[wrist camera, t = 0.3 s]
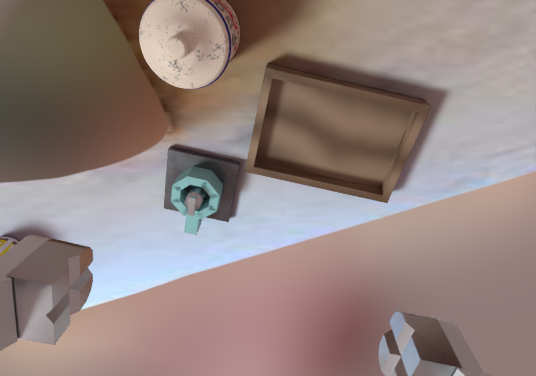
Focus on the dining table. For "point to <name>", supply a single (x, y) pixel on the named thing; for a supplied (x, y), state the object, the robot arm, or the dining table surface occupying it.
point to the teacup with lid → (189, 40)
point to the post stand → (222, 169)
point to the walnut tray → (333, 133)
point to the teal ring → (208, 206)
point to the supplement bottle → (6, 244)
